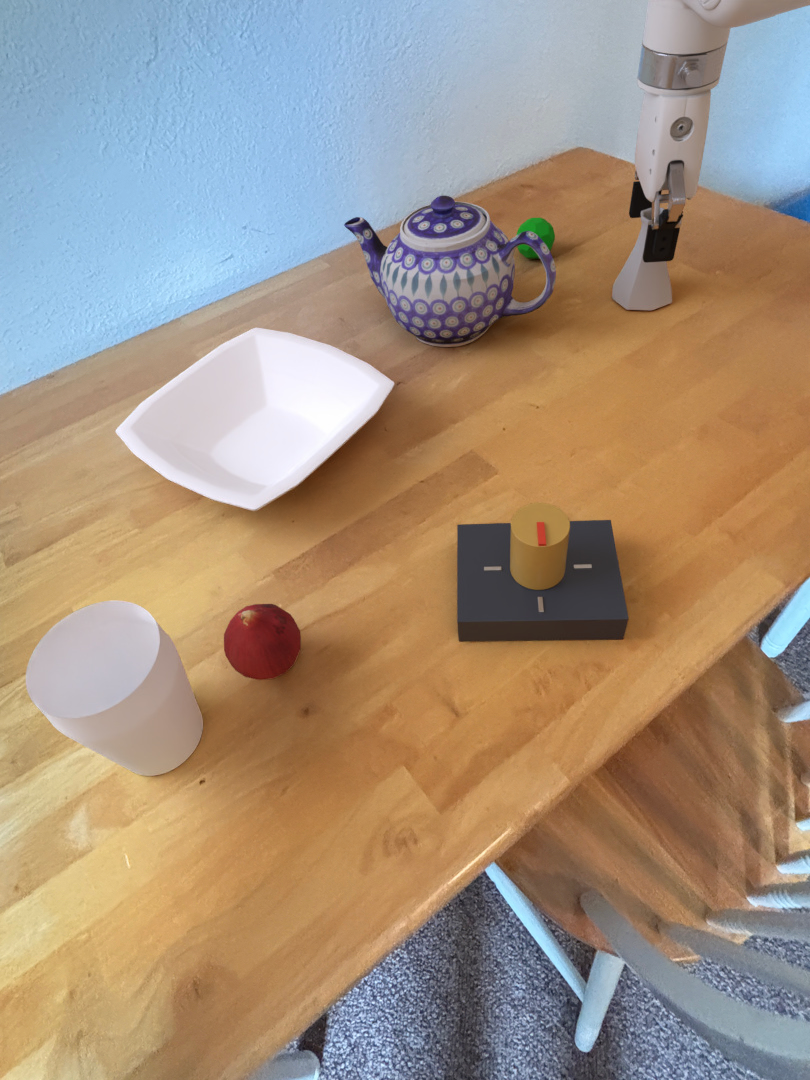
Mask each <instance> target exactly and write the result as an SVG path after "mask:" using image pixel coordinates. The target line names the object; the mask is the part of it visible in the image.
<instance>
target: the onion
mask: <svg viewBox="0 0 810 1080" xmlns="http://www.w3.org/2000/svg"><path fill="white" fill-rule="evenodd" d="M301 647H302V635H301V630H300V628H299V626H298V624H297V622H296V620H295V619H294V617H293V616H292V615H291V614H290V613H289V612H287V611H286V610H285V609H283V608H282V607H280V606H278V605H276V604H275V603H254V604H251V605H247V606H245V607H243V608H242V609H240V610H238V611H237V612H236V613H235V614H234V615H233V616H232V618H231V619H230V620H229V622H228V624H227V626H226V629H225V631H224V633H223V650H224V655H225V657H226V659H227V660H228V663H229V664H230V665H231V666H230V667H232V668H233V670H235V672H237V673H239V674H240V675H241V676H243V677H244V678H248V679H253V680H257V681H265V680H272V679H277V678H278V677H280V676H282V675H285V674H286V673H287V672H288V671H289V670H290V669H291V668H292V667H293V666H294V665H295V663H296V661H297V659H298V657H299V655H300V651H301V650H302V649H301Z"/></svg>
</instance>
